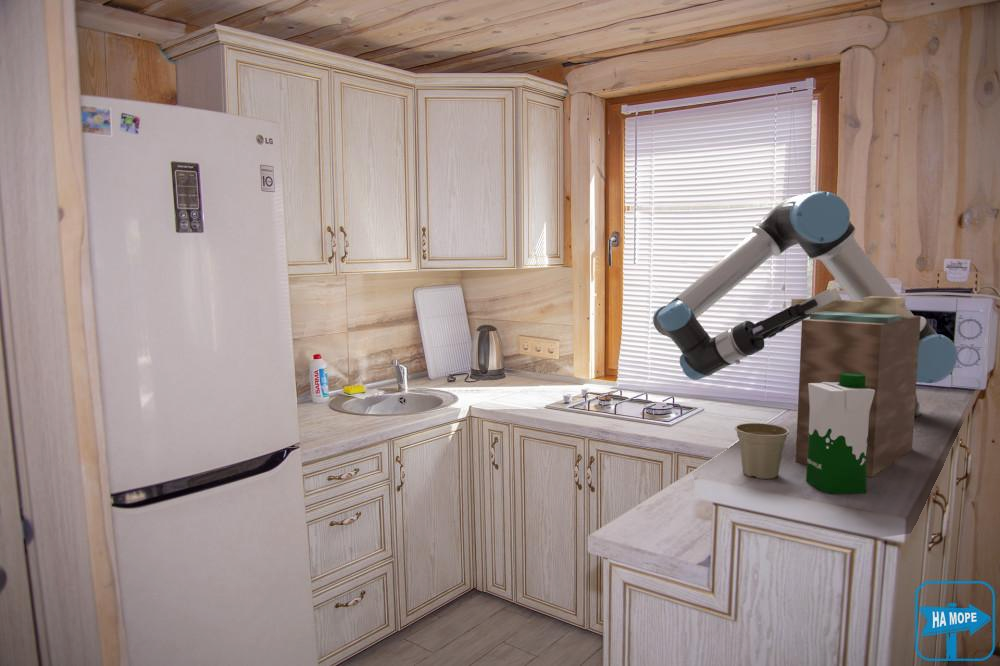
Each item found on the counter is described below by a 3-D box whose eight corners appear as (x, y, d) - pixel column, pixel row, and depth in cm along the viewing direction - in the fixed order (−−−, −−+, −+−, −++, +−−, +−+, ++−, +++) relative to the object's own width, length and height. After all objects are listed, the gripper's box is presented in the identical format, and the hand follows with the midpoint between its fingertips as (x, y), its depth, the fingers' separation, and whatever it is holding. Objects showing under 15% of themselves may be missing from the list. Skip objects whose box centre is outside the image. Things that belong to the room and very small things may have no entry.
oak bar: (788, 313, 153) (788, 294, 153) (799, 311, 158) (799, 293, 157) (895, 318, 139) (896, 298, 139) (904, 317, 143) (905, 297, 143)
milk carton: (874, 494, 121) (881, 378, 118) (823, 496, 120) (829, 379, 118) (845, 478, 129) (851, 369, 127) (797, 479, 129) (802, 370, 126)
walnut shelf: (795, 461, 140) (802, 314, 137) (841, 437, 158) (848, 307, 155) (872, 477, 130) (881, 319, 127) (912, 449, 149) (920, 311, 146)
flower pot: (761, 485, 126) (763, 437, 125) (722, 471, 134) (723, 426, 133) (798, 477, 130) (800, 431, 129) (758, 464, 138) (760, 420, 137)
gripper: (763, 352, 169) (856, 308, 154) (732, 360, 158) (829, 312, 143) (749, 324, 171) (840, 277, 156) (717, 329, 160) (812, 279, 145)
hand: (834, 294), depth 149 cm, fingers closed on oak bar, 3 cm apart
